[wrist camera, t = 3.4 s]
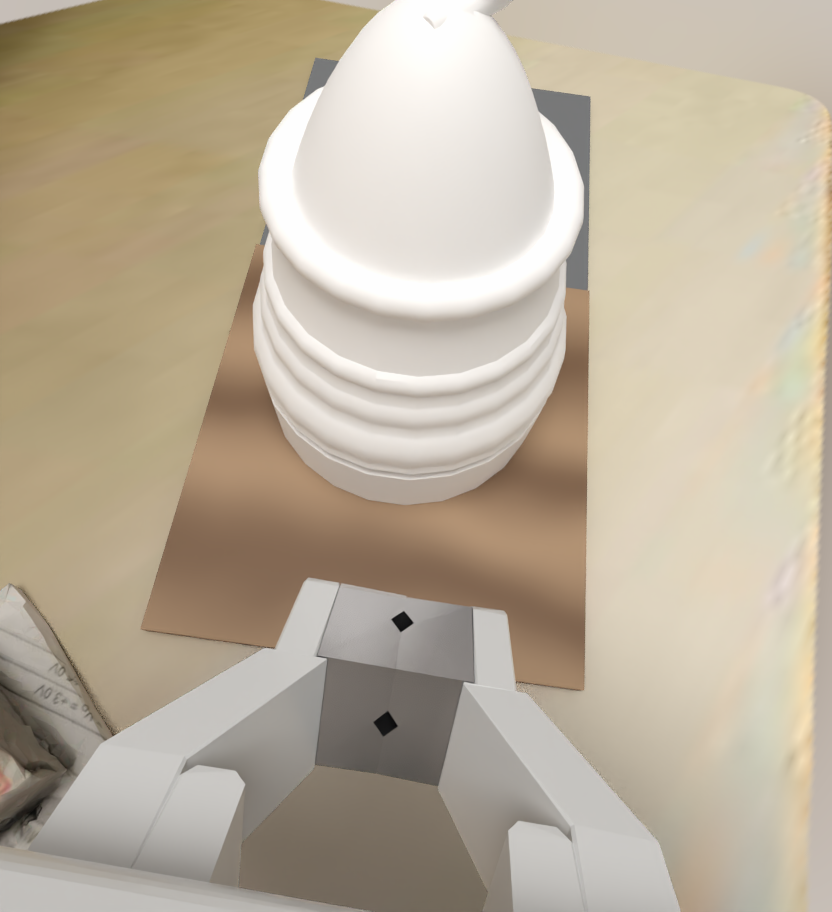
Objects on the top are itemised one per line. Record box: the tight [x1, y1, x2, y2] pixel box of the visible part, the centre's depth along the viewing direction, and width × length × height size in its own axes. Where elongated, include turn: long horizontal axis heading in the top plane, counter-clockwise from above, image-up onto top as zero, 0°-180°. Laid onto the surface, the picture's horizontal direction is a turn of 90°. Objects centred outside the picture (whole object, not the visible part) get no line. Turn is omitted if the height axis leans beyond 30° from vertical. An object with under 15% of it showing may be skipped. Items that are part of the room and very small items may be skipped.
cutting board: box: [141, 244, 589, 690], centre depth 27 cm, size 20×18×1 cm
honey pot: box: [253, 0, 584, 505], centre depth 20 cm, size 13×13×18 cm
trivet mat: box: [260, 58, 590, 290], centre depth 35 cm, size 16×18×1 cm
